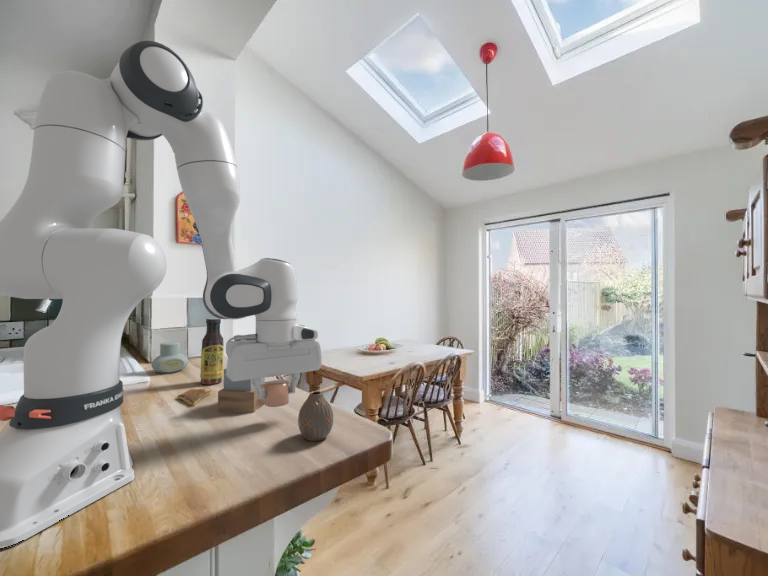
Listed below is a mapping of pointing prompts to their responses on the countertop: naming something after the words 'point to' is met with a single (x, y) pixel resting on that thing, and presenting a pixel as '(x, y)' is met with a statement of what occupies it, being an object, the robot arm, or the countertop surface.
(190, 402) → the toasted sandwich
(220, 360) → the sauce bottle
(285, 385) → the peach pillar candle
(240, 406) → the base block
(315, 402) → the vase
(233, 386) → the top block
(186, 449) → the countertop surface
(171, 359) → the air freshener
